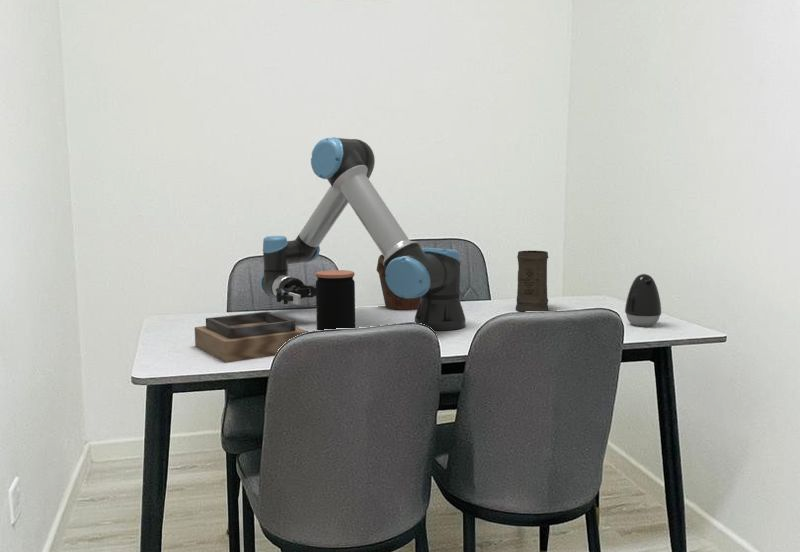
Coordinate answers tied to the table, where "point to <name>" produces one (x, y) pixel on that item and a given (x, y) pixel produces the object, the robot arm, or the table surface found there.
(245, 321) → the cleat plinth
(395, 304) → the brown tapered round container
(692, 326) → the table surface
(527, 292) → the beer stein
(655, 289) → the black rounded piece
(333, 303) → the coffee jar
